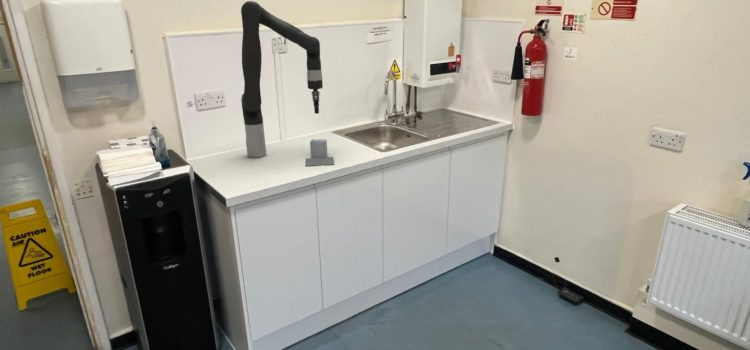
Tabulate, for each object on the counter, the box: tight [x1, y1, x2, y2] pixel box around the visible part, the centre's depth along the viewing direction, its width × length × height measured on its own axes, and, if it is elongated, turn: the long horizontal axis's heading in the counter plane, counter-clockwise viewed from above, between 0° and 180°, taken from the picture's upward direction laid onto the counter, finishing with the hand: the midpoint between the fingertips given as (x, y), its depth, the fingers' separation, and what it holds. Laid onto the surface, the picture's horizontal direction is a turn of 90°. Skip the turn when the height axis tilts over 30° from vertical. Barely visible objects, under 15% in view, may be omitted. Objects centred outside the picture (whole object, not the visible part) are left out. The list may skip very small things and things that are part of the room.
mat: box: [304, 156, 335, 167], centre depth 229 cm, size 14×11×1 cm
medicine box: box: [309, 138, 328, 158], centre depth 236 cm, size 8×4×9 cm, turn 86°
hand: (316, 112), depth 237 cm, fingers open, 2 cm apart
